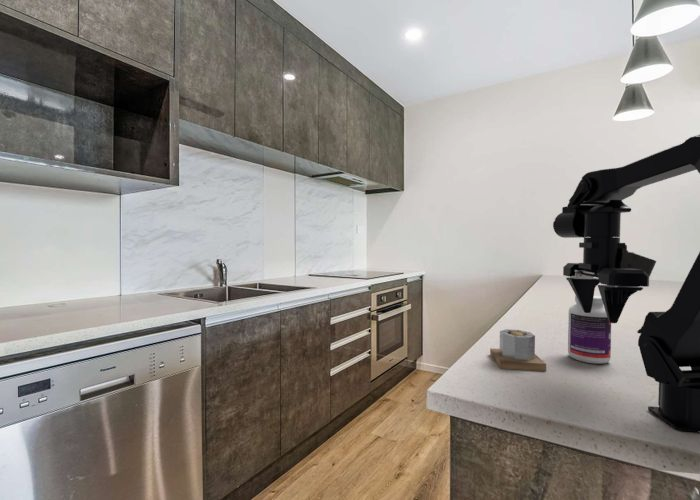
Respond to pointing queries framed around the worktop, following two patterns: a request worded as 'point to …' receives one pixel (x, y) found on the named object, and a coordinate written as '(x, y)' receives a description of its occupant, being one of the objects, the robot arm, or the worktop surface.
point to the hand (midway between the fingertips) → (599, 317)
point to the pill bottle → (589, 333)
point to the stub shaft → (514, 364)
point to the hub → (517, 345)
